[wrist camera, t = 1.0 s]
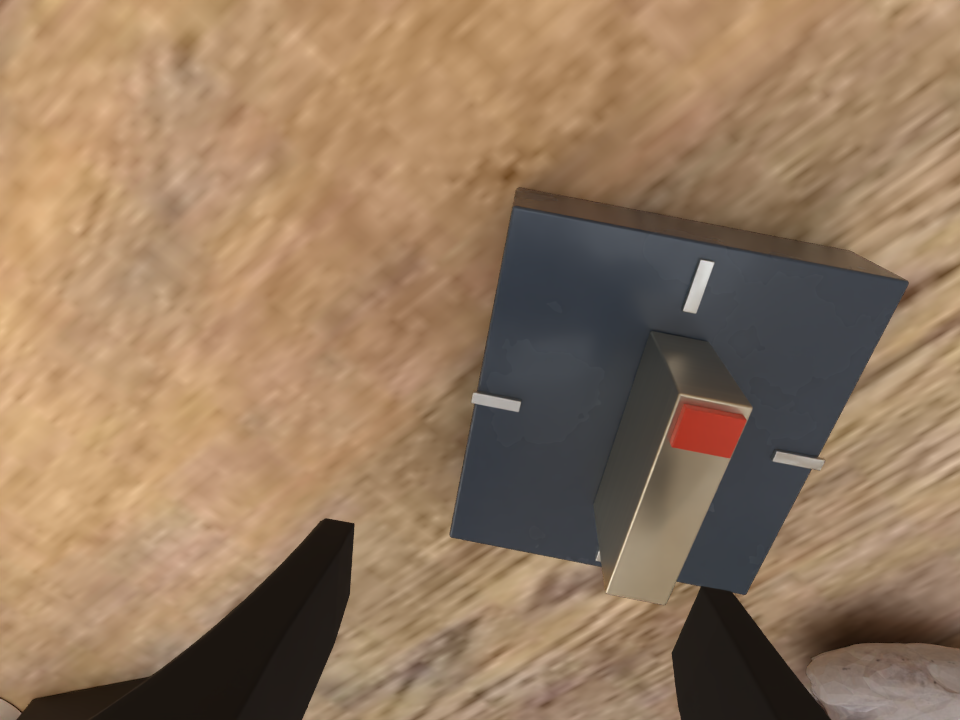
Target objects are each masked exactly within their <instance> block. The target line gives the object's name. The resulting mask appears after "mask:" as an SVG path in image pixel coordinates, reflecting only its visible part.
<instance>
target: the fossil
mask: <svg viewBox="0 0 960 720" xmlns="http://www.w3.org/2000/svg"><path fill="white" fill-rule="evenodd" d="M811 659H812V662H811V663H810V664H809V665H808V666H807V668H806V675H807V676H808V678H809V679H810V681H811V691H812V692H813V694H814V695H815V696H816V697H817V698H818V699H819V701H820V702H821V703H822V705H823V706H824V707H825V709H826V712H827V714H828V716H829V717H830V719H831V720H960V649H958V648H953V647H944V646H940V645H934V644H925V643H908V644H901V643H862V644H854V645H851V646H848V647H844V648H840V649H836V650H832V651H828V652H824V653H821V654H819V655H817V656H815V657H812V658H811Z"/></svg>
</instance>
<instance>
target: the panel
mask: <svg viewBox="0 0 960 720" xmlns="http://www.w3.org/2000/svg"><path fill="white" fill-rule="evenodd" d="M908 284H909V282H908V281H907V280H905V279H903V278H901V277H900V276H898V275H896V274H894V273H892V272H890V271H888V270H886V269H884V268H882V267H880V266H879V265H877V264H875V263H873V262H871V261H869V260H867V259H865V258H863V257H861V256H859V255H858V254H856V253H854V252H852V251H849V250H844V249H839V248H833V247H828V246H823V245H818V244H813V243H807V242H802V241H797V240H792V239H786V238H781V237H776V236H771V235H765V234H760V233H755V232H750V231H744V230H739V229H734V228H729V227H724V226H718V225H713V224H708V223H703V222H697V221H692V220H687V219H682V218H676V217H671V216H666V215H661V214H656V213H650V212H645V211H640V210H635V209H629V208H624V207H619V206H614V205H608V204H603V203H598V202H593V201H588V200H582V199H577V198H572V197H567V196H561V195H556V194H551V193H546V192H540V191H535V190H530V189H525V188H520V187H519V188H517V189H516V192H515V197H514V202H513V207H512V212H511V217H510V222H509V227H508V232H507V238H506V243H505V248H504V253H503V258H502V264H501V269H500V274H499V279H498V284H497V290H496V295H495V300H494V305H493V310H492V316H491V321H490V326H489V331H488V336H487V342H486V347H485V352H484V357H483V362H482V368H481V373H480V378H479V383H478V388H477V391H476V390H474V391H473V396H472V401H471V403H474V409H473V414H472V420H471V425H470V430H469V435H468V440H467V446H466V451H465V456H464V461H463V466H462V472H461V477H460V482H459V487H458V492H457V498H456V503H455V508H454V513H453V518H452V524H451V529H450V537H451V538H456V539H462V540H467V541H472V542H477V543H482V544H487V545H492V546H497V547H502V548H508V549H513V550H518V551H523V552H528V553H533V554H538V555H543V556H548V557H553V558H559V559H564V560H569V561H574V562H579V563H584V564H589V565H594V566H599V567H602V565H601V558H600V550H599V543H598V536H597V528H596V521H595V513H594V506H593V504H594V501H595V498H596V495H597V492H598V489H599V486H600V483H601V480H602V477H603V474H604V471H605V468H606V465H607V462H608V459H609V456H610V453H611V450H612V447H613V443H614V440H615V437H616V434H617V431H618V428H619V425H620V422H621V419H622V416H623V413H624V410H625V407H626V404H627V401H628V398H629V395H630V392H631V389H632V386H633V383H634V380H635V376H636V373H637V370H638V367H639V364H640V361H641V358H642V355H643V352H644V349H645V346H646V343H647V340H648V337H649V334H650V332H651V331H654V332H659V333H665V334H670V335H675V336H680V337H685V338H691V339H696V340H701V341H706V342H709V343H710V345H711V346H712V348H713V349H714V350H715V352H716V353H717V355H718V356H719V358H720V359H721V361H722V362H723V364H724V365H725V367H726V368H727V370H728V371H729V373H730V374H731V376H732V377H733V379H734V380H735V382H736V383H737V385H738V386H739V388H740V389H741V391H742V392H743V394H744V395H745V397H746V398H747V400H748V401H749V402H750V404H751V405H752V407H753V409H752V412H751V414H750V416H749V419H748V421H747V423H746V425H745V428H744V430H743V432H742V434H741V437H740V439H739V441H738V443H737V446H736V448H735V450H734V452H733V455H732V457H731V459H730V461H729V464H728V466H727V468H726V470H725V473H724V475H723V477H722V479H721V482H720V484H719V486H718V488H717V491H716V493H715V495H714V498H713V500H712V502H711V504H710V507H709V509H708V511H707V513H706V516H705V518H704V520H703V522H702V525H701V527H700V529H699V531H698V534H697V536H696V538H695V540H694V543H693V545H692V547H691V549H690V552H689V554H688V556H687V558H686V561H685V563H684V565H683V567H682V570H681V572H680V574H679V576H678V579H677V581H676V582H681V583H686V584H691V585H696V586H704V587H710V588H716V589H721V590H727V591H731V592H732V593H737V594H742V595H745V594H746V593H747V592H748V590H749V588H750V586H751V584H752V582H753V580H754V578H755V576H756V574H757V572H758V571H759V569H760V567H761V565H762V563H763V561H764V559H765V557H766V555H767V553H768V551H769V550H770V548H771V546H772V544H773V542H774V540H775V538H776V536H777V534H778V532H779V530H780V529H781V527H782V525H783V523H784V521H785V519H786V517H787V515H788V513H789V511H790V510H791V508H792V506H793V504H794V502H795V500H796V498H797V496H798V494H799V492H800V490H801V489H802V487H803V485H804V483H805V481H806V479H807V477H808V475H809V473H810V471H811V469H814V470H819V471H820V470H821V468H822V466H823V464H824V462H825V460H824V458H821V457H818V456H819V454H820V452H821V450H822V448H823V447H824V445H825V443H826V441H827V439H828V437H829V435H830V433H831V431H832V429H833V428H834V426H835V424H836V422H837V420H838V418H839V416H840V414H841V412H842V410H843V408H844V407H845V405H846V403H847V401H848V399H849V397H850V395H851V393H852V391H853V389H854V387H855V386H856V384H857V382H858V380H859V378H860V376H861V374H862V372H863V370H864V368H865V366H866V365H867V363H868V361H869V359H870V357H871V355H872V353H873V351H874V349H875V347H876V346H877V344H878V342H879V340H880V338H881V336H882V334H883V332H884V330H885V328H886V326H887V325H888V323H889V321H890V319H891V317H892V315H893V313H894V311H895V309H896V307H897V305H898V304H899V302H900V300H901V298H902V296H903V294H904V292H905V290H906V288H907V286H908Z"/></svg>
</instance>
